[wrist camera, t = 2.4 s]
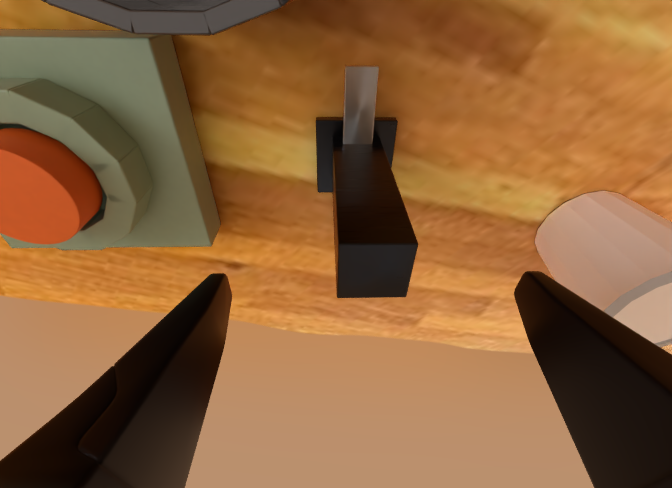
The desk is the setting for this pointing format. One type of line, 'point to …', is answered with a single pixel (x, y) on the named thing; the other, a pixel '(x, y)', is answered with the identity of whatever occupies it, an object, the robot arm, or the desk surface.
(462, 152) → the desk surface
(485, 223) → the desk surface
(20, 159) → the button
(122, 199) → the control block
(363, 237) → the dark blocky piece
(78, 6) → the bowl
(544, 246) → the shot glass
